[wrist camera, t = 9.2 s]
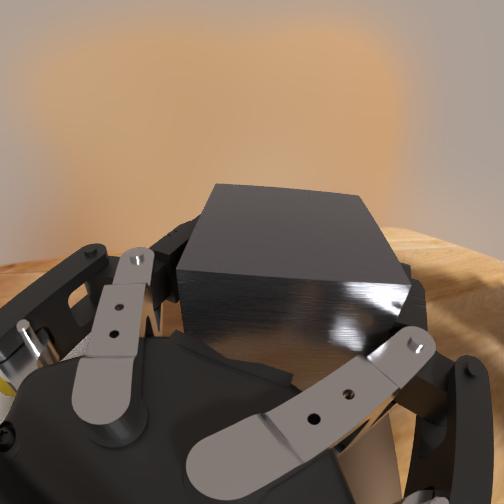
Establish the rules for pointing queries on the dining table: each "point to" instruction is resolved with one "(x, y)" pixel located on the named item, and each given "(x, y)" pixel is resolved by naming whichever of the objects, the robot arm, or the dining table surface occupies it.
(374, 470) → the flat brown board
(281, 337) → the dark grey box
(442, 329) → the dining table surface
